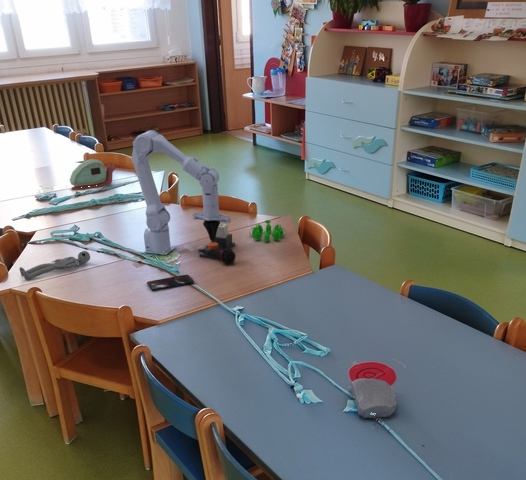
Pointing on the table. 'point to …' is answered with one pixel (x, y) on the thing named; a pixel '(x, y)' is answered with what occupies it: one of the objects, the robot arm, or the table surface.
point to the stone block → (373, 397)
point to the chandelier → (267, 232)
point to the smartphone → (170, 282)
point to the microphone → (222, 255)
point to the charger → (222, 231)
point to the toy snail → (91, 175)
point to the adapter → (205, 255)
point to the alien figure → (55, 265)
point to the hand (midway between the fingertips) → (212, 239)
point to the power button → (213, 245)
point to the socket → (224, 241)
